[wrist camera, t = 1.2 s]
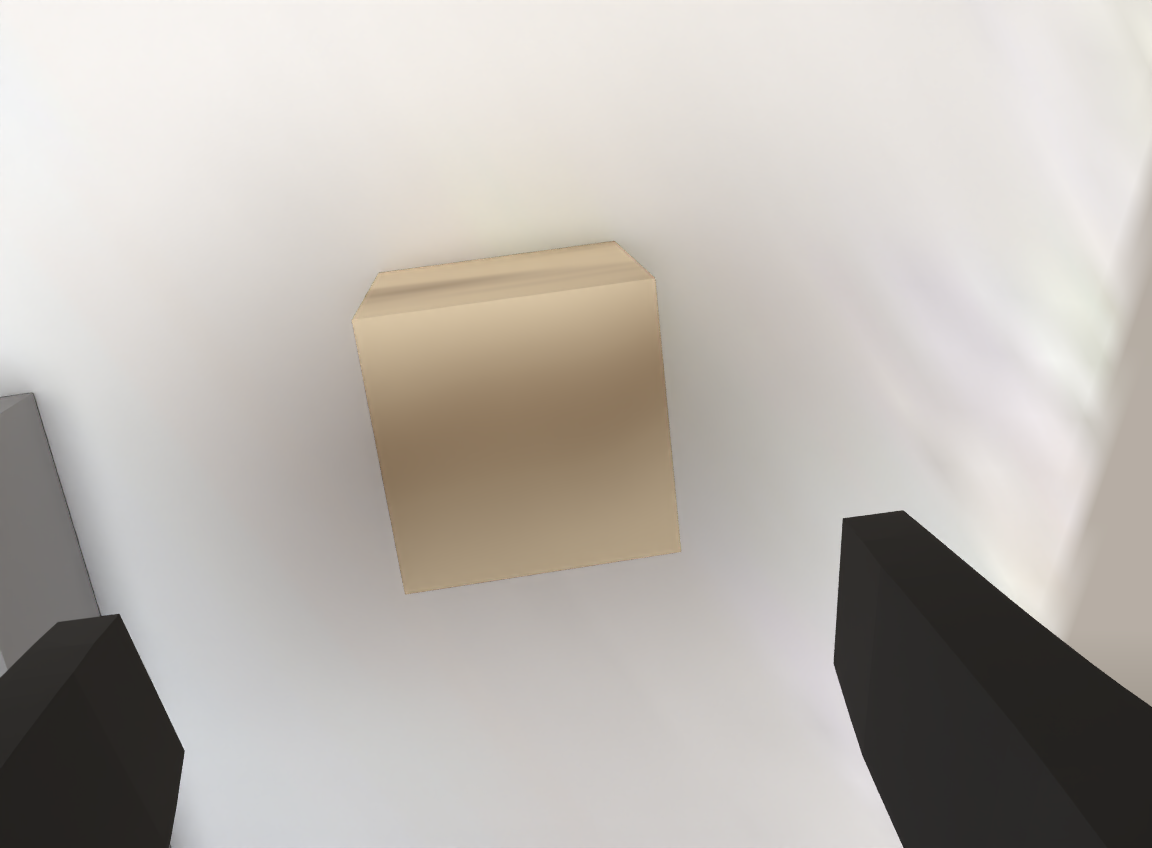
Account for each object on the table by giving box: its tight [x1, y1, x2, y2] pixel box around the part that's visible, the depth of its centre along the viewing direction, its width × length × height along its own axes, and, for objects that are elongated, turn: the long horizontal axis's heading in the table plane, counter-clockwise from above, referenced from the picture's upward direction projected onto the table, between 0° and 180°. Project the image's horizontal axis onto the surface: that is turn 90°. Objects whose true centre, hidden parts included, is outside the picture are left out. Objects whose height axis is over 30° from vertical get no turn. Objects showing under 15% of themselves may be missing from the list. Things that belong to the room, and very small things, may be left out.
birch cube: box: [352, 241, 681, 594], centre depth 19 cm, size 5×5×5 cm
